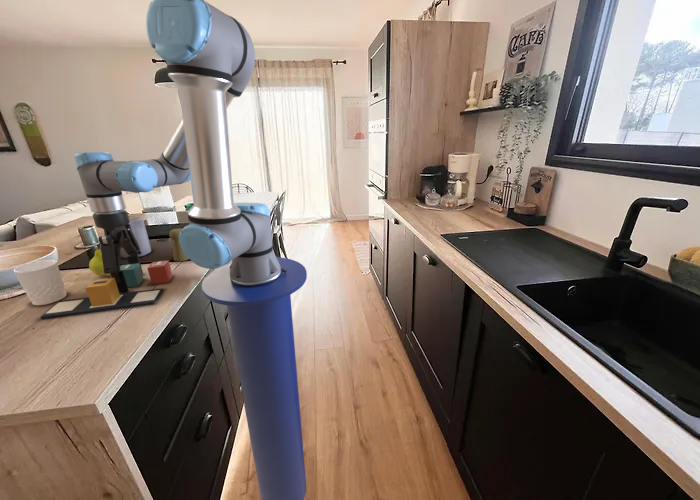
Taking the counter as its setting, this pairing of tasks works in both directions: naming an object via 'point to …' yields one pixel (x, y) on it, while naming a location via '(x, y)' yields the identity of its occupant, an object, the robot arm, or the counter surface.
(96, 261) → the fruit
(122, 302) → the word mat
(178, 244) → the cork
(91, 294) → the slotted yellow cube
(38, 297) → the white cup
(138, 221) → the pillar candle
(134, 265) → the teal slotted block
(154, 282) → the red block
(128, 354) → the counter surface
